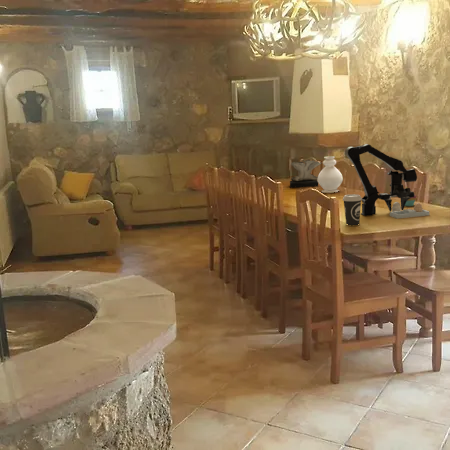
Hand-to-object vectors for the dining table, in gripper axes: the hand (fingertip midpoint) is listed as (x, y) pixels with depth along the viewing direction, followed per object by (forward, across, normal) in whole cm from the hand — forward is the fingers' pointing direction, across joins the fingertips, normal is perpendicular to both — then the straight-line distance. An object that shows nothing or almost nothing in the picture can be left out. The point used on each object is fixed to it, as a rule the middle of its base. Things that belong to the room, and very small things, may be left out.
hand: (396, 210), depth 293 cm
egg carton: (+1, +1, -12) cm, 12 cm away
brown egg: (+1, +6, -12) cm, 13 cm away
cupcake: (+1, +17, +17) cm, 24 cm away
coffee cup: (+1, -33, -17) cm, 37 cm away
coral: (+2, -7, +131) cm, 131 cm away
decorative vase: (+2, -1, +95) cm, 95 cm away
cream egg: (+1, 0, 0) cm, 1 cm away
